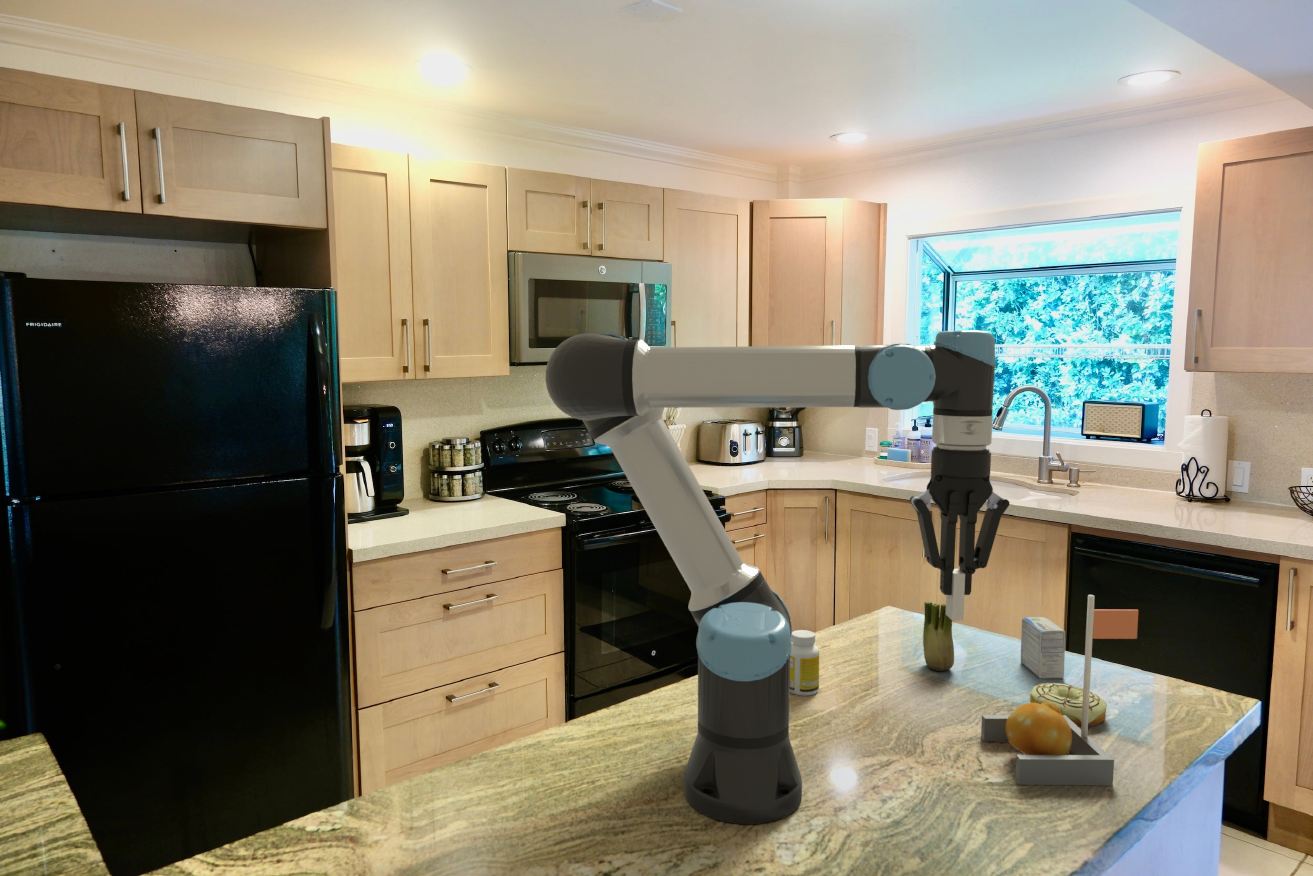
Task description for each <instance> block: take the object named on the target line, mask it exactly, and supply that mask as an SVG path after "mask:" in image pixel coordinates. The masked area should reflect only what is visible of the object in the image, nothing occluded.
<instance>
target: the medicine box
mask: <svg viewBox="0 0 1313 876" xmlns="http://www.w3.org/2000/svg"><path fill="white" fill-rule="evenodd" d="M1020 636H1021V639H1020V641H1021V642H1020V643H1021V644H1020V663H1022V665H1024V666H1025V667H1026V668H1027V669H1028V670H1029V671H1031V672H1032V673H1033V674H1034V675H1036V677H1038V679H1045V680H1046V679H1050V680H1051V679H1054V680H1055V679H1056V680H1057V679H1064V678H1065V656H1066V655H1065V653H1066V652H1065V651H1066V631H1065V630H1064V629H1063V628H1061V627H1060V626H1059V625H1057V624H1055V623H1054V622H1053V621H1052V620H1050V619H1048V618H1046V617H1043V616H1042V617H1041V616H1039V617H1038V616H1030V617H1029V616H1028V617H1022V619H1021V635H1020Z"/></svg>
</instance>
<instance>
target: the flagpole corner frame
mask: <svg viewBox="0 0 1313 876" xmlns="http://www.w3.org/2000/svg"><path fill="white" fill-rule="evenodd" d="M1138 623H1139V609H1095V595H1093V594H1088V595H1087V609H1086V624H1085V626H1086V628H1085V647H1084V666H1083V667H1084V668H1083V669H1084V670H1083V686H1082V687H1083V704H1082V723H1081V726H1079V725H1076V724H1075V723H1073V722H1072V721H1071V720H1070V719H1069V718H1068V717H1067V716H1066V715H1063V717H1064V718H1065V719H1066V720H1067V722H1068V723H1069V726H1070V729H1071V733H1072V745H1071V748H1070V751H1069V753H1071V754H1068V755H1027V754H1016V758H1015V759H1016V761H1015V778H1014V779H1015V781H1016V783H1017V784H1018V785H1019V786H1022V785H1023V786H1024V785H1025V786H1030V785H1031V786H1033V785H1035V786H1114V774H1115V773H1114V770H1115V769H1114V768H1115V759H1114V758H1113V757H1112V756H1111V755H1110V754H1108V753H1107V752H1106V751H1105V750H1104V749H1103V748H1102V747H1101V746H1100V745H1099V744H1098V743H1096V742H1095V741H1094V739H1092V738H1091V737H1090V736H1089V735H1088V734H1089V733H1088V731H1089V729H1088V728H1089V726H1088V714H1089V695H1090V692H1091V690H1090V689H1091V674H1092V657H1093V653H1092V652H1093V651H1092V650H1093V639H1095V640H1096V639H1097V640H1098V639H1099V640H1101V639H1102V640H1106V639H1107V640H1108V639H1109V640H1111V639H1113V640H1119V639H1121V640H1129V639H1130V640H1135V639H1136V640H1137V639H1138V627H1139V624H1138ZM1009 715H1010V714H981V729H980V730H981V731H980V733H981V734H980V739H983V740H982V741H983V742H984V741H985V742H986V741H987V742H988V741H989V743H990V741H991V743H992V741H993V742H994V741H995V742H996V743H997V742H1003V743H1005V742H1007V743H1010V742H1009V740H1008V738H1007V735H1006V722H1007V719H1008V717H1009ZM985 742H984V743H985Z"/></svg>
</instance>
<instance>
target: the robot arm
mask: <svg viewBox="0 0 1313 876" xmlns="http://www.w3.org/2000/svg"><path fill="white" fill-rule="evenodd" d="M995 346H996V340H995V337H994V336H993V334H992V332H991V333H990V332H989V331H987V330H943V331H938V333H936V336H935V341H934V342H933V344H932V345H923V346H919V345H912V344H910V343H893V344H865V345H854V344H853V345H852V344H851V345H848V344H847V345H845V344H844V345H772V346H768V345H765V346H764V345H763V346H762V345H761V346H758V345H757V346H756V345H755V346H753V345H752V346H688V347H687V346H684V347H683V346H681V347H680V346H679V347H678V346H677V347H676V346H675V347H673V346H671V347H669V346H666V347H665V346H664V347H659V346H658V347H651V346H649V345H648V344H647V343H646V341H644V339H628V338H626V337H623V336H622V335H617V334H615V333H614V334H613V333H599V334H598V333H592V332H591V333H589V332H588V333H578V334H576V335H573V336H570V337H568V338H567V339H565V340H563V341H562V342H561V343H560V344H559V345H557V347H555V349H554V350H553V351H552V353H551V355H550V356H549V359H548V361H547V364H546V368H545V374H544V375H545V377H544V379H545V387H546V390H547V392H548V396H549V397H550V399H551V401H552V402H553V404H554V405H555V406H556V407H557V408H558V409H559V410H560V411H561V412H562V413H564V414H566V416H570V418H573V419H577V420H579V421H581V420H582V422H583V424H584V425H585V427H586V430H588V432H589V434H590V436H591V437H592V440H593V441H594V442H595V443H596V444H600V445H603V446H607V447H608V448H609V449H610V450H611V452H612V453H613V456H614V457H615V460H616V461H617V462H618V465H619V466H620V467H621V469H622V472H623V473H624V475H625V477H626V478H627V480H628V482H629V484H630V485H631V487H632V489H633V490H634V492H635V495H636V496H637V498H638V499H639V502H640V503H641V505H642V507H643V508H644V510H645V512H646V514H647V516H648V517H649V518H650V521H651V523H652V524H653V526H654V528H655V530H656V532H657V533H658V535H659V537H660V539H661V540H662V542H663V544H664V546H665V547H666V550H667V551H668V553H669V555H670V557H671V558H672V560H673V562H674V563H675V565H676V567H677V569H678V571H679V573H680V575H681V576H682V578H683V580H684V581H685V583H686V584H687V586H688V589H689V591H690V593H691V595H690V599H689V602H688V608H687V609H688V611H690V612H689V613H691V615H692V617H693V619H694V621H695V623H696V624H697V626H698V630H697V631H698V632H697V635H696V639H695V641H696V642H695V645H696V650H697V733H696V736H695V739H694V742H693V746H692V749H691V751H690V755H689V757H688V761H687V763H686V766H685V769H684V775H683V792H684V797H685V798H686V801H687V802H688V803H689V805H690V806H691V807H693V808H694V809H695V810H696V811H698V812H700V813H701V814H703V815H705V816H706V817H709V818H712V819H715V820H719V821H721V822H726V823H732V824H741V825H742V824H743V825H757V824H758V825H759V824H764V823H770V822H774V821H777V820H780V819H783V818H785V817H787V816H789V815H791V814H792V813H794V811H796V810H797V809H798V807H799V806H800V804H801V802H802V798H803V779H802V774H801V772H800V769H799V765H798V763H797V758H796V755H795V753H794V749H793V746H792V743H791V740H790V731H789V729H790V728H789V727H790V723H789V722H790V692H789V683H790V653H791V646H792V642H791V634H792V632H793V630H792V626H793V625H792V621H791V615H790V612H789V610H788V607H787V606H786V603H785V602H784V600H783V599H782V598H781V597H780V596H779V594H777V592H776V591H774V590H773V589H772V588H770V586H769V584H768V582H767V580H766V579H765V577H764V575H763V573H762V571H761V570H760V568H759V567H757V566H755V565H752V564H748V563H745V562H744V561H743V560H742V558H741V556H740V554H739V552H738V550H737V549H736V547H735V545H734V543H733V541H732V540H731V538H730V536H729V535H728V533H727V531H726V529H725V527H724V525H723V524H722V522H721V521H720V519H719V516H718V515H717V513H716V512H715V509H714V508H713V505H711V503H710V501H709V499H708V497H707V495H706V494H705V492H704V490H703V489H702V487H701V485H700V482H699V481H698V479H697V478H696V476H695V474H694V473H693V470H692V469H691V467H690V465H689V463H688V461H687V460H686V458H685V456H684V454H683V453H682V451H681V449H680V447H679V445H678V444H677V442H676V440H675V439H674V437H673V435H672V433H671V431H670V430H669V428H668V426H667V424H666V422H665V420H664V419H663V412H664V409H665V408H668V409H669V408H676V409H677V408H682V409H683V408H690V409H691V408H863V409H864V408H867V409H868V408H879V409H880V408H883V409H884V408H888V409H890V410H894V411H903V410H905V411H906V410H910V409H913V408H914V407H915V408H916V407H918V406H920V405H921V404H922V403H928V402H932V404H933V405H932V406H933V408H932V413H933V414H932V429H931V432H932V434H931V441H932V443H933V444H935V445H936V446H933V448H932V449H931V460H930V479H929V482H928V483H927V486H926V490H925V491H923V492H922V493H920V494H918V495H911V497H910V498H909V503H910V504H911V506H912V508H913V509H914V511H915V513H916V515H917V520H918V525H919V531H920V535H921V539H922V543H923V548H924V553H925V558H926V562H927V563H928V564H929V565H931V566H932V567H933V568H935V569H939V570H940V577H939V589H940V592H941V593H942V594H943V595H944V596H946V597H945V598H946V600H945V604H946V615H947V616H948V617H949V618H950V619H951V620H952V622H953V621H956V622H958V621H961V622H962V621H963V622H964V612H965V611H964V609H965V596H970V595H971V594H972V584H973V583H972V580H973V575H974V574H975V573H976V571H977V570H979V569H986V567H987V566H988V563H989V560H990V556H991V552H992V551H993V550H992V549H993V547H994V542H995V539H996V535H997V532H998V528H999V525H1000V521H1001V519H1002V516H1003V515H1004V513H1005V512H1006V511H1007V509H1008V507H1009V506H1010V501H1009V500H1008V499H1006V498H1004V497H1002V496H1000V495H998V494H997V493H995V492H994V488H993V485H992V484H991V479H990V478H991V463H992V451H991V450H990V449H989V448H987V447H988V446H990V445H991V444H992V440H993V439H992V435H993V406H994V403H993V402H994V387H995V374H996V373H995V372H996V368H997V365H996V348H995ZM931 500H932V501H933V502H934V504H935V505H936V507H937V508H938V510H939V511H940V513H939V514H940V515H939V516H940V520H941V521H940V523H941V524H940V541H939V542H940V544H939V546H938V542H937V536H936V533H935V527H934V523H933V522H934V521H933V517H932V515H931V511H930V510H929V509H930V508H932V503H931ZM985 503H986V507H987V508H986V510H985V513H984V516H983V519H982V523H981V526H980V529H979V533H978V536H977V540H976V541H975V539H976V524H977V522H978V512H979V511H980V510H981V508H982V507H983V506H984V505H985ZM958 519H959V520H958ZM958 521H959V543H958V567H959V568H955V563H956V560H955V559H956V558H955V557H956V540H957V539H956V538H957V537H956V535H957V523H958ZM975 542H976V543H975ZM939 547H940V548H939Z"/></svg>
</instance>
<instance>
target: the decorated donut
mask: <svg viewBox="0 0 1313 876" xmlns="http://www.w3.org/2000/svg"><path fill="white" fill-rule="evenodd" d="M1043 702H1050V703H1053V704H1054V705H1056V706H1057V707H1058V708H1059V709H1060V711H1061V712H1062V715H1066V716H1067V717H1068V718H1069V719H1070V720H1071V721H1072V722H1073V723H1075V724H1076V725H1077V726H1079V725H1081V723H1082V704H1083V688H1082V687H1078V686H1076V685H1071V684H1069V683H1067V684H1066V683H1061V682H1060V683H1059V682H1045V683H1039V684H1038V685H1034V686H1033V687H1032V689H1031V691H1030V695H1029V703H1039V704H1041V703H1043ZM1107 708H1108V704H1107V702H1106V700H1105V699H1104V698H1102V697H1101V696H1099V695H1098V694H1096V693H1093V692H1091V691H1090V695H1089V714H1088V727H1092V726H1097V725H1099V724H1101V723H1103V722H1104V720H1105V719H1106V716H1107V715H1106V714H1107Z"/></svg>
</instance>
